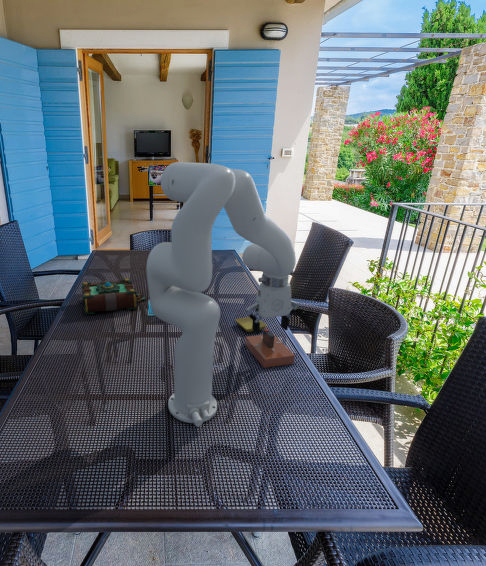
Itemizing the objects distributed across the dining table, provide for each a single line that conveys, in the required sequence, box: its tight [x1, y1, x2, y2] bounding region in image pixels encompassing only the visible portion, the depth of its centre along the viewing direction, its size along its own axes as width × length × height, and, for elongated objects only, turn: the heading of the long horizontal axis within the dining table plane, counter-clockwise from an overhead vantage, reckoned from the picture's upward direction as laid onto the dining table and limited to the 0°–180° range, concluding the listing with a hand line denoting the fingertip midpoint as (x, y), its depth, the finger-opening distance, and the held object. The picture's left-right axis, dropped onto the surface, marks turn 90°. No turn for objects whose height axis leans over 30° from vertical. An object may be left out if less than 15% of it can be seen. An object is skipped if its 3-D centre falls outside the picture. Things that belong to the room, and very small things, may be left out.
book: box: [81, 277, 147, 315], centre depth 156 cm, size 27×21×10 cm
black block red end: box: [262, 328, 276, 348], centre depth 120 cm, size 5×2×4 cm, turn 13°
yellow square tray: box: [234, 316, 268, 333], centre depth 137 cm, size 9×9×2 cm
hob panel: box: [244, 333, 296, 369], centre depth 121 cm, size 14×10×3 cm
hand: (270, 330), depth 119 cm, fingers open, 9 cm apart
